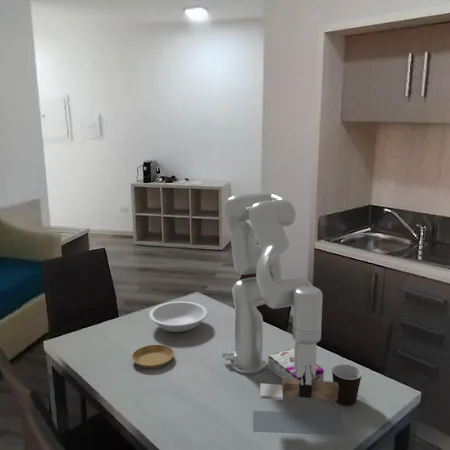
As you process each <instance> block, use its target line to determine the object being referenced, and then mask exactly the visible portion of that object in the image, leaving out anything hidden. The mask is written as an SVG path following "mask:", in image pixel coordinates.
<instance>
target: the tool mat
mask: <svg viewBox="0 0 450 450" xmlns="http://www.w3.org/2000/svg"><path fill="white" fill-rule="evenodd" d="M252 432H261V433H289V434H314V435H316V434H317V435H320V434H321V435H341V436H342V435H343V436H344V435H347V434H346V432H345V429H344V425H343V422H342V419H341V415H340V413H334V412H333V413H331V412H330V413H329V412H327V413H326V412H304V411H302V412H300V411H299V412H297V411H274V410H273V411H272V410H271V411H270V410H252Z"/></svg>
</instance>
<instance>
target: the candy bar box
mask: <svg viewBox="0 0 450 450" xmlns="http://www.w3.org/2000/svg"><path fill="white" fill-rule="evenodd" d="M294 352H295V347H293V348H289V349H287V350H283V351H280V352H276V353H272V354H269V355H268V357H267V358H268V362H267V363H268V365H267V368H268V369H269V370H270V371H272V372H273V373H274V374H276V375H277V376H278V377H279V378H280V379H281V380H283V378H288V379H298V377H297V375H296V371H295V365H294ZM324 371H325V369H324V368H322V367H321V366H319V365H318V364H317V363H316V373H315V377H314V378H313V377H312V380H315V381H324Z"/></svg>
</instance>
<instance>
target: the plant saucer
mask: <svg viewBox="0 0 450 450" xmlns="http://www.w3.org/2000/svg"><path fill="white" fill-rule="evenodd" d="M174 356H175V352H174V350H173V349H172V348H171V347H169V346H168V345H163V344H149V345H144V346H142V347H140V348H138V349H136V350H135V351H134V352H133V354H132V355H131V360H132V361H134V363H135V364H136V365H138V366H139V367H141V368H143V369H149V370H151V369H153V370H154V369H159V368H161V367H163V366H165V365H167V364H168V363H169V362H170V361H171V360H172V359H173V357H174Z"/></svg>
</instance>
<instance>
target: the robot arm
mask: <svg viewBox="0 0 450 450" xmlns="http://www.w3.org/2000/svg"><path fill="white" fill-rule="evenodd" d="M296 216H297V215H296V210H295V207H294V205H293V203H292V202H290V201H289V200H288V199H287V198H284V197H282V196H280V195H277V194H275V193H271V192H262V193H246V194H235V195H233V196H230V197H228V198H227V199H226V200H225V202H224V204H223V217H224V221H225V224H226V227H227V229H228V231H229V235H230V243H231V253H232V261H233V266H234V269H235V272H236V273H237V274H238V275H250V274H253V275H254V274H255V275H256V276H254V277H248V278H247V277H246V278H242V279H240V280H237V281H235V283H234V284H233V286H232V291H231V292H232V300H233V306H234V348H233V350H231V351H222V353H221V354H222V355H221V356H222V358H224V359H225V360H224V361H230V366H231V368H232V369H233V370H235V371H237V372H238V373H241V374H247V375H248V374H257V373H261V372H262V371H264V370H265V368H266V367H267V363H268V362H267V360H266V358H265V357H264V356H263V336H264V335H263V334H264V331H263V330H264V329H263V328H264V324H263V323H264V320H263V315H262V313H261V312H260V311H259V310H258V308H257V307H258V306H259V307H260V306H263V305H266V306H267V307H268V308H270V309H273V310H275V309H281V308H282V309H283V308H287V307H292V308H293V309H292V334H291V335H292V336H291V337H292V339H293V340H295V341H294V349H295V352H294V365H295V371H296V375H297V377H298V379H299V380H301V383H300V388H299V396H300V397H305V398H304V399H311V398H310V397H311V391H312V383H311V381H312V377H313V378H314V377H315V373H316V364H317V343H319V342H320V341H321V339H322V317H323V297H324V296H323V291H321V289H320V288H318V287H316V286H314V285H313V284H312V283H311V282H310V281H309V280H308V279H307V278H306V277H301V276H299V277H292V278H291V277H290V278H284V279H283V277H282V267H281V259H280V256H281V255H282V254H283V253H284V252H286V251H287V250H288V249H289V247H290V241H289V239H288V237H287V234H286V231H285V229H284V227H290V226H292V225H293V224H294V223H295V221H296ZM248 220H249V222H250V223H251V224H250V223H249V222H248ZM257 243H258V244H257Z"/></svg>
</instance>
